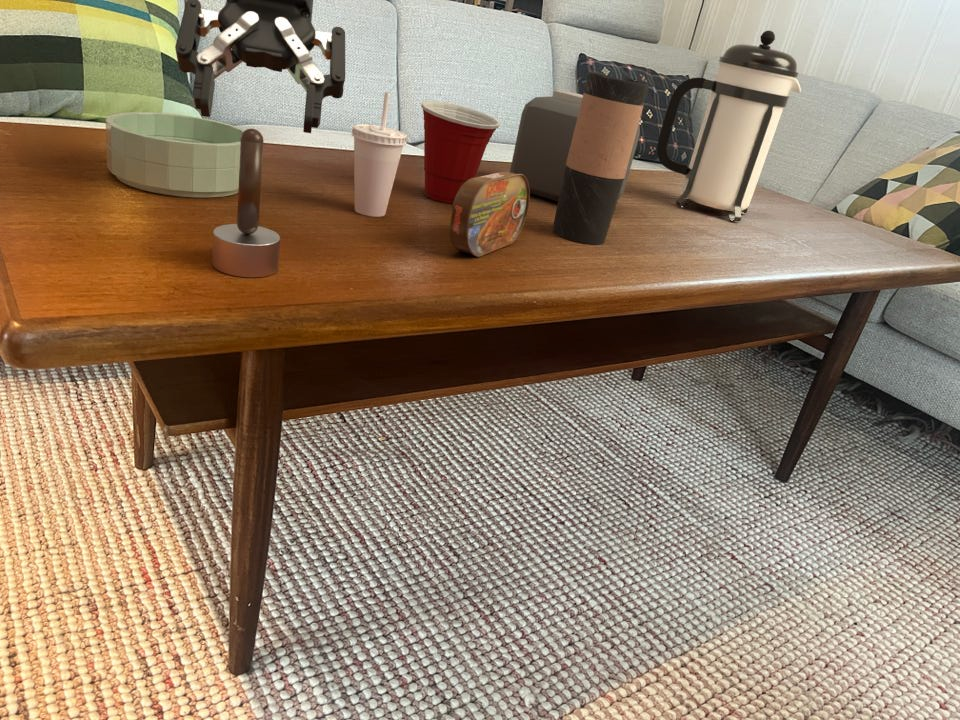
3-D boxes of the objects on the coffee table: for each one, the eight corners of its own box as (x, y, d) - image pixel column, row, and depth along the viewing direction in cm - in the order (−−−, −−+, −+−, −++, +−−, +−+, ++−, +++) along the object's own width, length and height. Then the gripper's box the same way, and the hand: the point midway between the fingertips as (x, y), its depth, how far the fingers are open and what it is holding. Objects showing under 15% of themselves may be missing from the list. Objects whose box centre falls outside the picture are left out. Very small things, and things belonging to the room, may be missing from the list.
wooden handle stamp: (203, 270, 62) (207, 127, 57) (223, 251, 67) (228, 117, 62) (269, 282, 63) (279, 140, 58) (284, 261, 68) (294, 130, 63)
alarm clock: (619, 208, 118) (646, 108, 111) (597, 218, 108) (625, 110, 102) (529, 181, 123) (550, 85, 117) (500, 188, 114) (521, 84, 107)
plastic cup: (452, 213, 95) (468, 119, 90) (391, 190, 100) (404, 99, 95) (499, 206, 103) (517, 119, 98) (441, 185, 108) (455, 101, 103)
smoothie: (358, 220, 84) (373, 94, 78) (334, 203, 88) (346, 83, 82) (406, 220, 88) (423, 99, 82) (380, 204, 92) (395, 88, 86)
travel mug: (581, 247, 92) (625, 81, 84) (538, 227, 97) (575, 68, 88) (618, 243, 97) (662, 86, 89) (575, 225, 102) (613, 74, 93)
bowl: (82, 181, 78) (79, 124, 75) (141, 155, 91) (140, 106, 89) (228, 208, 79) (230, 152, 76) (264, 178, 93) (267, 130, 90)
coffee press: (720, 202, 140) (776, 35, 128) (769, 227, 127) (837, 43, 114) (641, 191, 135) (691, 15, 122) (684, 216, 121) (745, 21, 109)
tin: (463, 263, 77) (478, 185, 74) (438, 254, 78) (451, 176, 75) (523, 240, 90) (539, 172, 86) (501, 233, 91) (515, 165, 87)
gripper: (188, -80, 63) (162, 76, 58) (355, -43, 66) (344, 106, 61) (196, -13, 70) (174, 132, 65) (347, 17, 73) (337, 156, 68)
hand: (257, 119), depth 63 cm, fingers open, 8 cm apart
